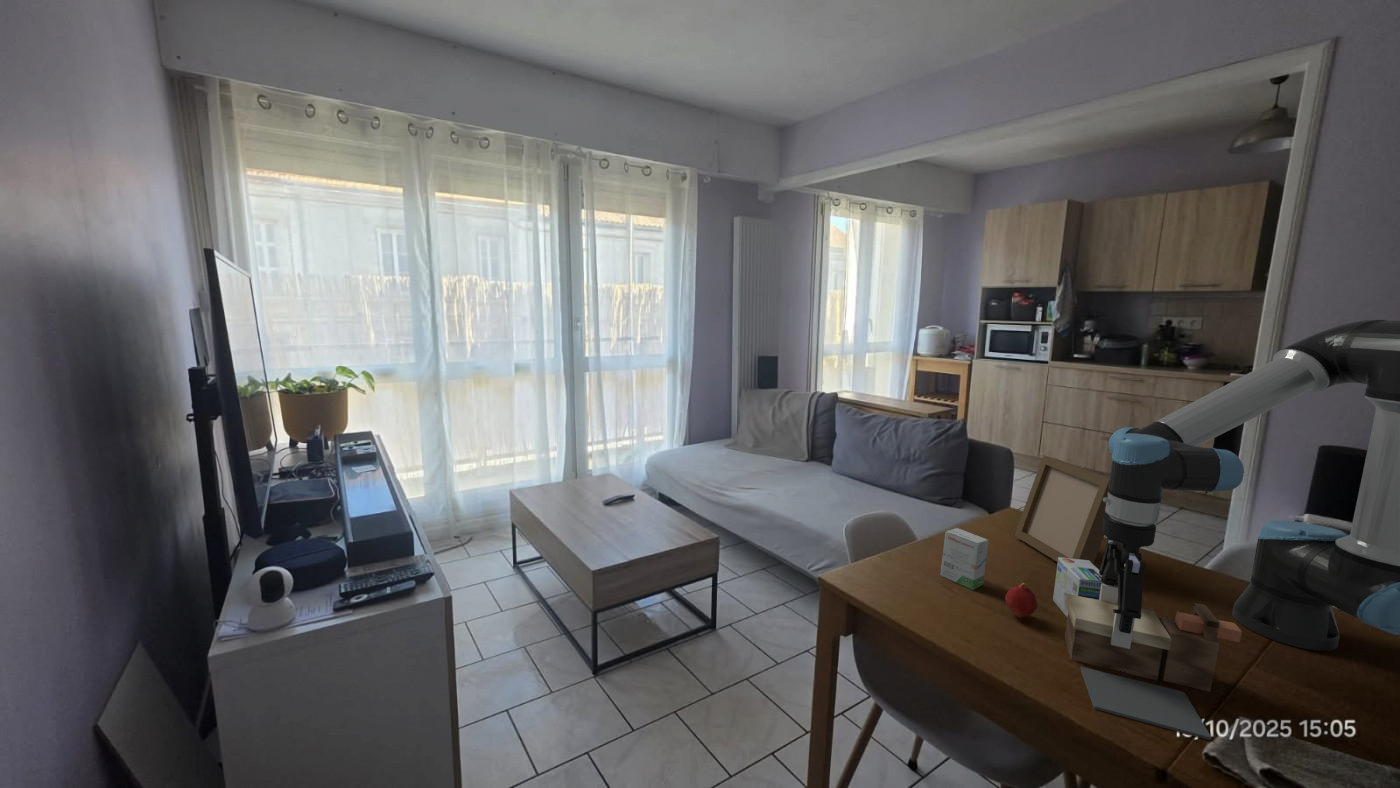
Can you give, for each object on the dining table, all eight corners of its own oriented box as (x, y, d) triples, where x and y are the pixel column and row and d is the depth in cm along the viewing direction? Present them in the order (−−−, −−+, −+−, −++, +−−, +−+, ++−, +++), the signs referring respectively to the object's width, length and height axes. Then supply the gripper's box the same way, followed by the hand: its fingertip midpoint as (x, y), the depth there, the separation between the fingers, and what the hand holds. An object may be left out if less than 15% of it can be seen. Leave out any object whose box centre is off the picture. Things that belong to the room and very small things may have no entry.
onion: (998, 609, 119) (1002, 575, 117) (1024, 609, 118) (1028, 576, 117) (1012, 624, 113) (1017, 589, 112) (1040, 625, 113) (1045, 590, 111)
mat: (1183, 694, 93) (1184, 692, 93) (1211, 740, 83) (1211, 737, 83) (1080, 669, 99) (1080, 666, 99) (1094, 708, 89) (1094, 706, 89)
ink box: (939, 575, 133) (943, 531, 131) (951, 570, 136) (955, 526, 134) (973, 591, 126) (978, 544, 124) (984, 584, 129) (989, 538, 127)
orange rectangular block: (1232, 633, 95) (1234, 623, 94) (1239, 642, 92) (1242, 631, 92) (1174, 621, 98) (1176, 611, 98) (1180, 629, 96) (1182, 619, 95)
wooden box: (1195, 669, 99) (1207, 604, 97) (1211, 693, 93) (1224, 624, 91) (1064, 639, 108) (1072, 578, 106) (1071, 659, 102) (1080, 595, 100)
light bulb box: (1109, 631, 111) (1116, 583, 109) (1073, 626, 112) (1079, 579, 111) (1083, 603, 121) (1090, 559, 120) (1051, 599, 123) (1056, 556, 121)
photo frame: (1073, 576, 134) (1088, 480, 130) (1013, 538, 155) (1024, 455, 151) (1127, 574, 135) (1143, 479, 131) (1060, 537, 157) (1072, 455, 153)
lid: (1151, 621, 102) (1153, 611, 102) (1169, 650, 94) (1171, 638, 93) (1064, 603, 108) (1066, 593, 108) (1074, 628, 100) (1075, 618, 99)
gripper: (1091, 496, 109) (1076, 597, 113) (1121, 538, 89) (1103, 659, 93) (1136, 502, 106) (1120, 606, 110) (1179, 547, 86) (1157, 672, 90)
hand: (1112, 630), depth 101 cm, fingers closed on lid, 10 cm apart
